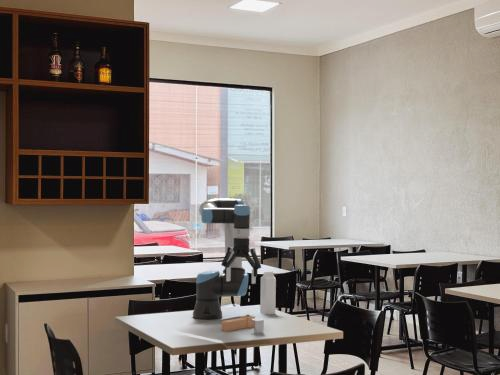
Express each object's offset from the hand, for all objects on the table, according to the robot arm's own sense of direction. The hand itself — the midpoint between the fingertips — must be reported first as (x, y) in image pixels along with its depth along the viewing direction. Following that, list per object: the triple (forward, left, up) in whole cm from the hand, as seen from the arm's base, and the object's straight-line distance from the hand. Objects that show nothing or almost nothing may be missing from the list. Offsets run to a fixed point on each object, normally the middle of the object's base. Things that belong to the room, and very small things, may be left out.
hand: (240, 282), depth 330 cm
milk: (-17, +39, -22) cm, 48 cm away
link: (+3, -5, -20) cm, 21 cm away
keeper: (+16, -6, -20) cm, 27 cm away
